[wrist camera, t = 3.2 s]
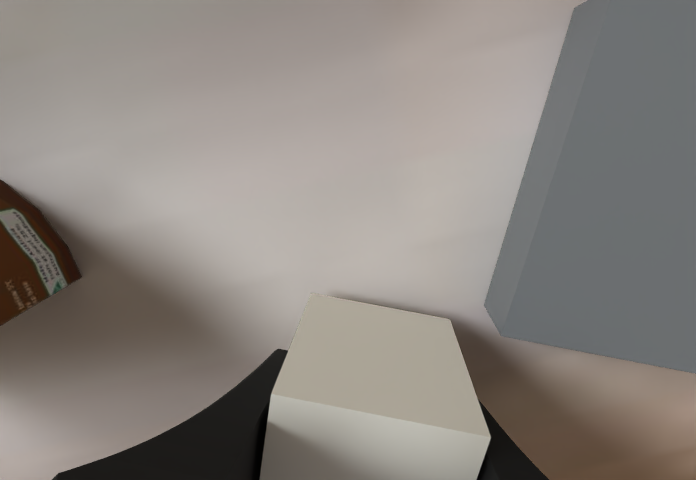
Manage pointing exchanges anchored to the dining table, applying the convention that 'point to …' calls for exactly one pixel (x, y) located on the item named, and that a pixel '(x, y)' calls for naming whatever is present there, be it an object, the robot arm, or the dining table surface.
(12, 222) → the food container
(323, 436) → the block
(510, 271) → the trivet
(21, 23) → the dining table surface
